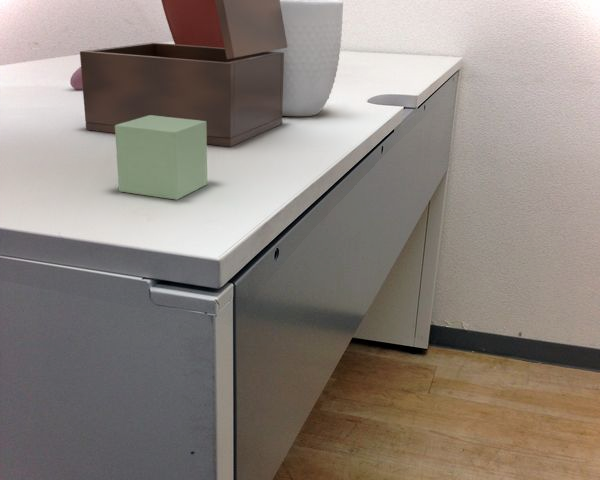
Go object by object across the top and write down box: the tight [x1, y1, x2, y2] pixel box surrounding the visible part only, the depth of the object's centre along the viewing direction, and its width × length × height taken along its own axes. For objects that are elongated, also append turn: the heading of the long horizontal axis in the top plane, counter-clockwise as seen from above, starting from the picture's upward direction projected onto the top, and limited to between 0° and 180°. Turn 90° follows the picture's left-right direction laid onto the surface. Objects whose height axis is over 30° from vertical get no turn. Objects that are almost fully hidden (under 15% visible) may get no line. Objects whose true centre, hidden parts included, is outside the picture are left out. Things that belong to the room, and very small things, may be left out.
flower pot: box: [161, 0, 225, 48], centre depth 126 cm, size 19×19×17 cm
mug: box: [271, 0, 344, 117], centre depth 89 cm, size 15×11×13 cm
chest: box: [79, 42, 284, 148], centre depth 78 cm, size 17×14×8 cm
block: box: [114, 115, 208, 201], centre depth 55 cm, size 5×5×5 cm
